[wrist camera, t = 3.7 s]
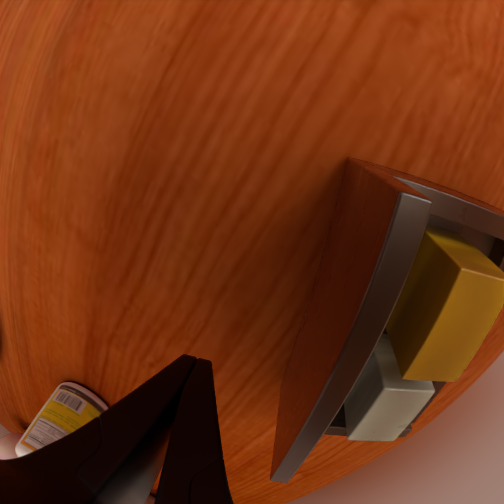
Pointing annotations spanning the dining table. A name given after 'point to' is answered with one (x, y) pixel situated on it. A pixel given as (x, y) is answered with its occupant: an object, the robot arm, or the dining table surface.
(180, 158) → the dining table surface
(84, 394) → the supplement bottle
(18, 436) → the decorative fruit
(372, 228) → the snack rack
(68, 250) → the dining table surface
